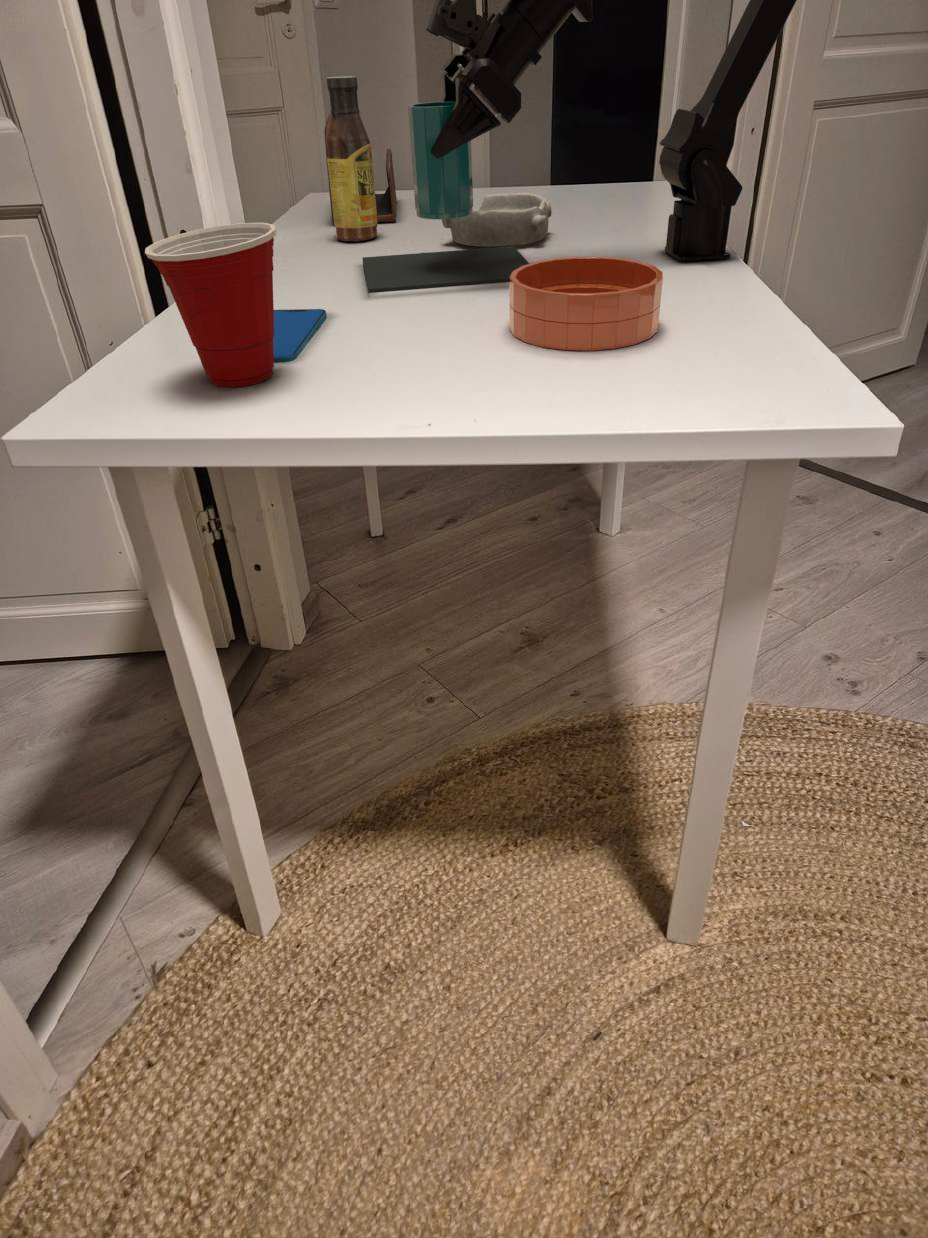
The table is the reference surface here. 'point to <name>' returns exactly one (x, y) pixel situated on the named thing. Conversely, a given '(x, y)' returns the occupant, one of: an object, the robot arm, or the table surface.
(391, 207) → the letter holder
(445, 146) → the robot arm
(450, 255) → the mat
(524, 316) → the bowl
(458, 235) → the dish
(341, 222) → the sauce bottle
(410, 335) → the table surface
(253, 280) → the plastic cup
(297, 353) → the smartphone
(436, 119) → the tumbler
